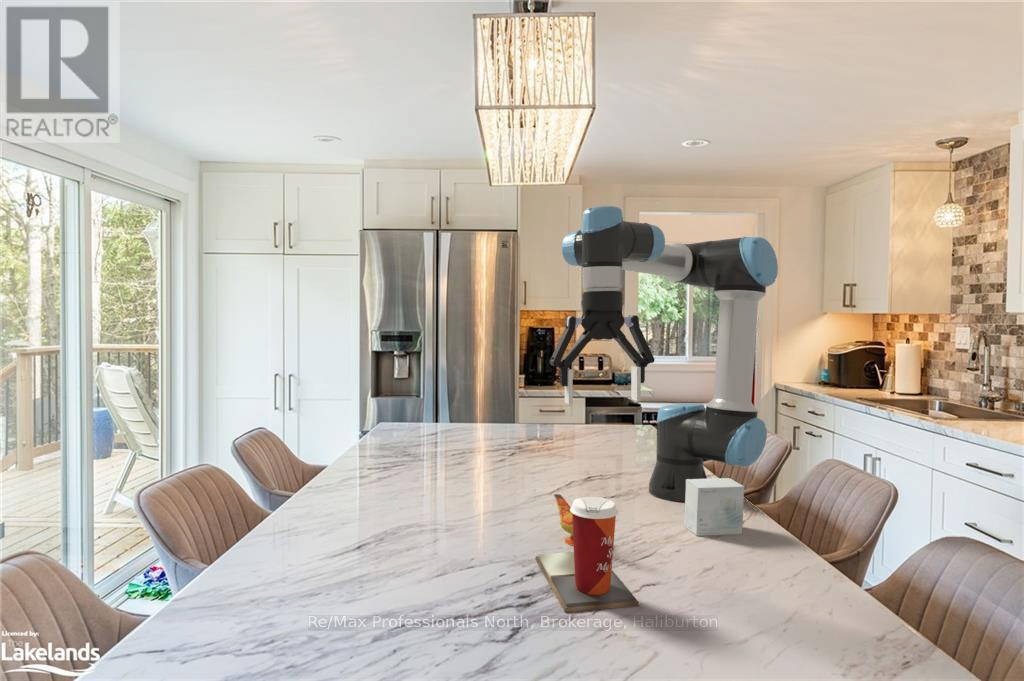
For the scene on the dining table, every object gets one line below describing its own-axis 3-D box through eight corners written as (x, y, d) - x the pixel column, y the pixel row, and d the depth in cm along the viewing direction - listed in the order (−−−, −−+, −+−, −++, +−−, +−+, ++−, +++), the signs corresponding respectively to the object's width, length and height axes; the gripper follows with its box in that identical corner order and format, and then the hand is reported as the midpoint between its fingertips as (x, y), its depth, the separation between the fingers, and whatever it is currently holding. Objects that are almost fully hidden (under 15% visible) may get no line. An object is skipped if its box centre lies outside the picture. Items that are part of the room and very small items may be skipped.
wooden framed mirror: (597, 555, 113) (597, 549, 113) (638, 605, 93) (638, 598, 93) (535, 559, 111) (535, 553, 110) (564, 612, 91) (564, 605, 91)
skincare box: (697, 537, 123) (698, 487, 123) (683, 526, 129) (684, 478, 129) (743, 534, 125) (745, 485, 124) (728, 524, 131) (729, 477, 131)
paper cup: (615, 600, 92) (617, 512, 92) (566, 595, 94) (567, 508, 93) (617, 579, 100) (618, 497, 99) (571, 575, 101) (572, 494, 101)
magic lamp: (569, 522, 131) (570, 472, 130) (610, 553, 114) (611, 496, 114) (540, 525, 128) (541, 475, 128) (578, 557, 112) (579, 499, 111)
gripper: (654, 290, 118) (654, 396, 120) (533, 291, 113) (534, 401, 114) (672, 289, 111) (672, 401, 112) (543, 290, 106) (544, 408, 107)
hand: (602, 402), depth 113 cm, fingers open, 13 cm apart
